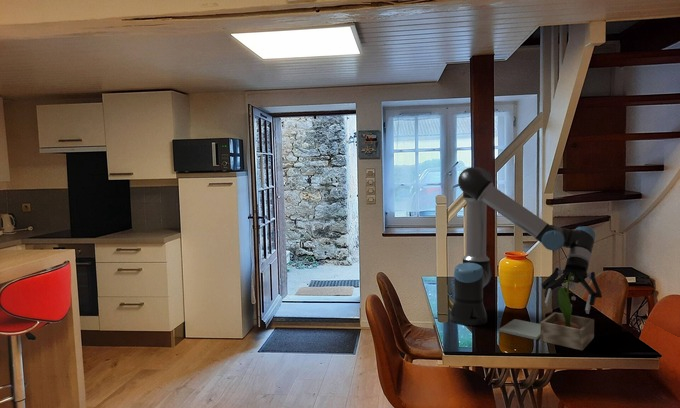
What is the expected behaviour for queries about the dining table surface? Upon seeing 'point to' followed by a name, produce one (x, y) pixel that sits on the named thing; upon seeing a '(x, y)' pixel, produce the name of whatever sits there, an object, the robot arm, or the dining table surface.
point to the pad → (522, 329)
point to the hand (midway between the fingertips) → (566, 308)
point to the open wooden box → (567, 331)
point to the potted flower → (566, 304)
